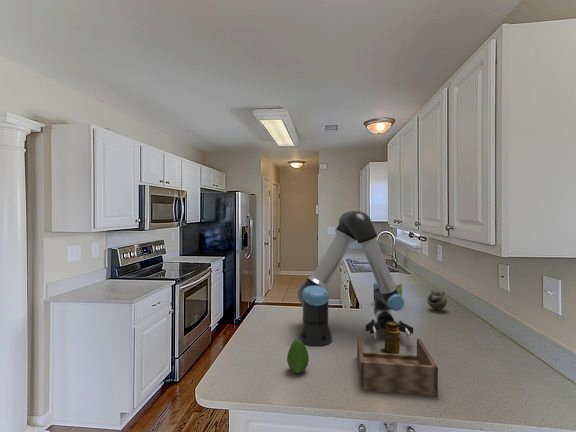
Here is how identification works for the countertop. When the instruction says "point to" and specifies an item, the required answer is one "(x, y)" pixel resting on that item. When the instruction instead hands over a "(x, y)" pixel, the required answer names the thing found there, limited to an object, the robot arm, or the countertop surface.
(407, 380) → the tray
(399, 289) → the tea box
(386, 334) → the condiment
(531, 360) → the countertop surface
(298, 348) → the avocado
